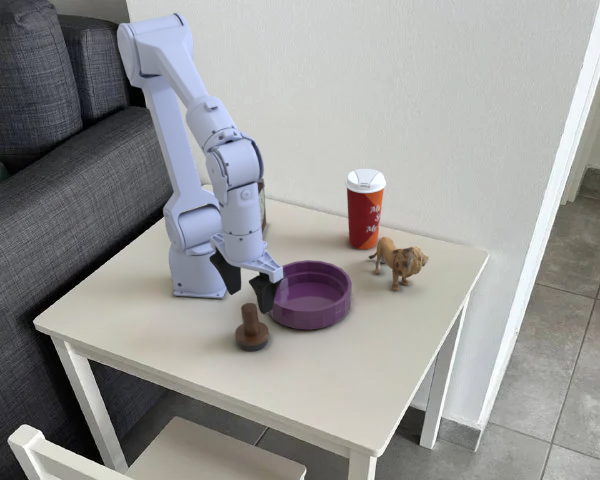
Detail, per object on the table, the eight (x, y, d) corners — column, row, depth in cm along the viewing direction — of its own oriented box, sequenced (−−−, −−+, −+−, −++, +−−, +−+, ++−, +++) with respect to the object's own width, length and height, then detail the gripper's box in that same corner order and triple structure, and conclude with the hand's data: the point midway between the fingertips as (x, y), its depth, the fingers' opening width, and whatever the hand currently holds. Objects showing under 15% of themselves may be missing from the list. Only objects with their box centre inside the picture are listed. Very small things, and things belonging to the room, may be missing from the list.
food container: (239, 220, 135) (234, 176, 127) (267, 221, 134) (264, 177, 127) (227, 251, 126) (220, 206, 119) (257, 253, 125) (252, 207, 118)
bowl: (259, 328, 109) (257, 308, 105) (275, 278, 119) (273, 258, 116) (346, 335, 107) (346, 314, 103) (354, 283, 117) (355, 262, 114)
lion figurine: (428, 291, 114) (434, 248, 108) (406, 301, 112) (410, 258, 106) (378, 255, 123) (381, 213, 117) (357, 264, 121) (358, 222, 115)
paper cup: (380, 253, 123) (384, 187, 113) (342, 251, 125) (342, 185, 115) (383, 232, 129) (388, 167, 119) (346, 230, 130) (347, 165, 120)
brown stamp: (233, 351, 105) (228, 317, 100) (240, 329, 109) (236, 296, 103) (265, 353, 104) (262, 319, 99) (272, 332, 108) (269, 298, 103)
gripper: (296, 231, 89) (299, 308, 99) (229, 199, 96) (239, 273, 106) (259, 252, 86) (267, 329, 95) (194, 216, 93) (207, 291, 103)
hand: (250, 301), depth 100 cm, fingers open, 7 cm apart
